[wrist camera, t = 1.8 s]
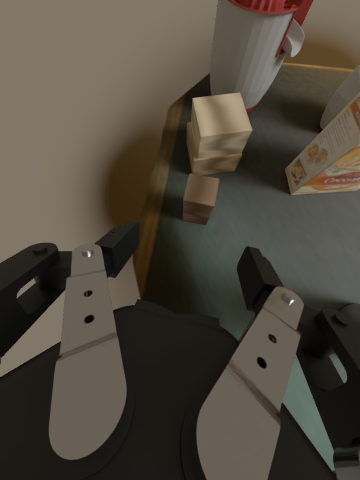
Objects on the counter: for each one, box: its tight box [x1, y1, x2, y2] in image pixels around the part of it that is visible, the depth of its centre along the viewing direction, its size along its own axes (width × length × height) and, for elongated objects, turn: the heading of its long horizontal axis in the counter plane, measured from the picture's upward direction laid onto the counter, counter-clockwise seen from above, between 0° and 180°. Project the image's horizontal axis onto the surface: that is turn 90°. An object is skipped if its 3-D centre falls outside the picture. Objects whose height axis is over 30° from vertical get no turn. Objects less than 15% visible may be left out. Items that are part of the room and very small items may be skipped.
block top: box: [191, 92, 252, 159], centre depth 29 cm, size 9×9×5 cm
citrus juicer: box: [210, 0, 313, 113], centre depth 31 cm, size 16×17×20 cm
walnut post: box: [183, 173, 219, 225], centre depth 29 cm, size 5×5×9 cm
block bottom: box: [187, 122, 242, 175], centre depth 34 cm, size 10×10×5 cm
